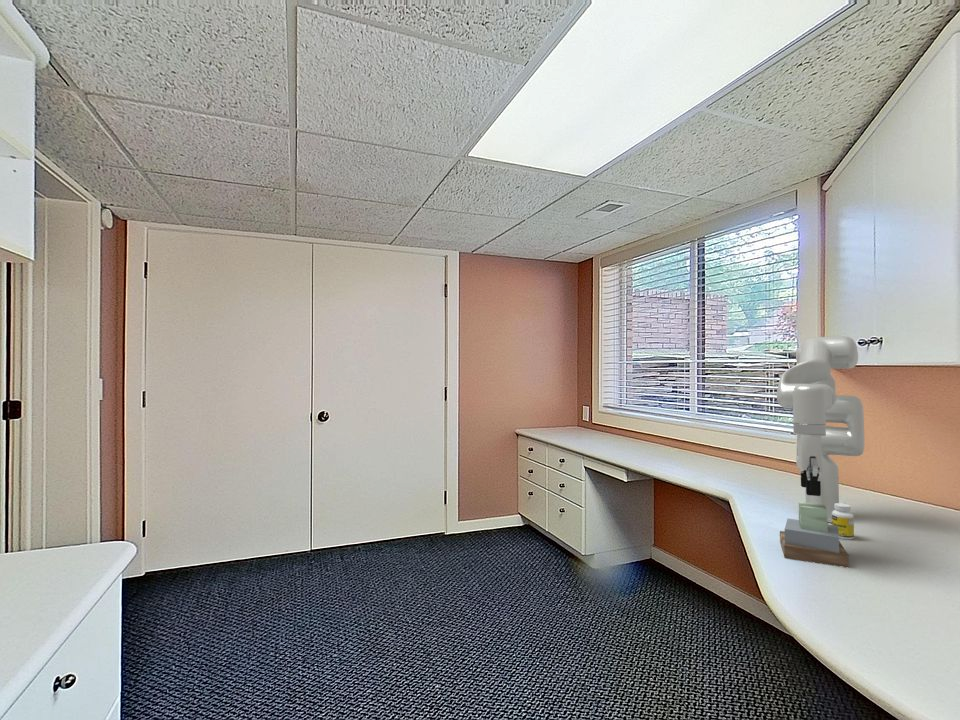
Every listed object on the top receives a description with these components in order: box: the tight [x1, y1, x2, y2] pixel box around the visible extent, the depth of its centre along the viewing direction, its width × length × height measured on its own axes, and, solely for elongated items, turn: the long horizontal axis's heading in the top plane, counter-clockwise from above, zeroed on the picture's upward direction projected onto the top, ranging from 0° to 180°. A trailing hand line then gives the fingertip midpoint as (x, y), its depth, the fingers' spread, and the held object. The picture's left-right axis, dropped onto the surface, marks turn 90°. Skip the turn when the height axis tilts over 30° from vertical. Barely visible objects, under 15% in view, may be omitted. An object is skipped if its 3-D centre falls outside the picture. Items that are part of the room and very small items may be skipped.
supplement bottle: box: [831, 502, 855, 541], centre depth 150 cm, size 5×5×10 cm
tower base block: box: [779, 530, 849, 568], centre depth 135 cm, size 14×14×4 cm
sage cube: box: [798, 501, 829, 532], centre depth 135 cm, size 6×6×6 cm
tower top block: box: [784, 518, 840, 553], centre depth 135 cm, size 12×12×4 cm
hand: (810, 491), depth 136 cm, fingers open, 9 cm apart
